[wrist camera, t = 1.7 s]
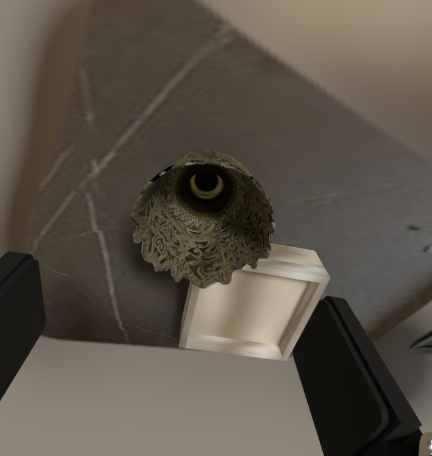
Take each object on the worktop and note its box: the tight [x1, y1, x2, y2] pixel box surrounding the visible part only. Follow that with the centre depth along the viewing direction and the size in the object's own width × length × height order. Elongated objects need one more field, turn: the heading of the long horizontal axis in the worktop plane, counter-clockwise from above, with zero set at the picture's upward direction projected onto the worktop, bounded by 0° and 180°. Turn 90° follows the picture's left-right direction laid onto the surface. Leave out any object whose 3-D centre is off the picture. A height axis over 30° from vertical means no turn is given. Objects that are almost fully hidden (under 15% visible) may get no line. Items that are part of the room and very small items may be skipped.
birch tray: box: [179, 243, 330, 361], centre depth 25 cm, size 10×10×4 cm
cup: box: [131, 150, 276, 289], centre depth 18 cm, size 8×7×8 cm
